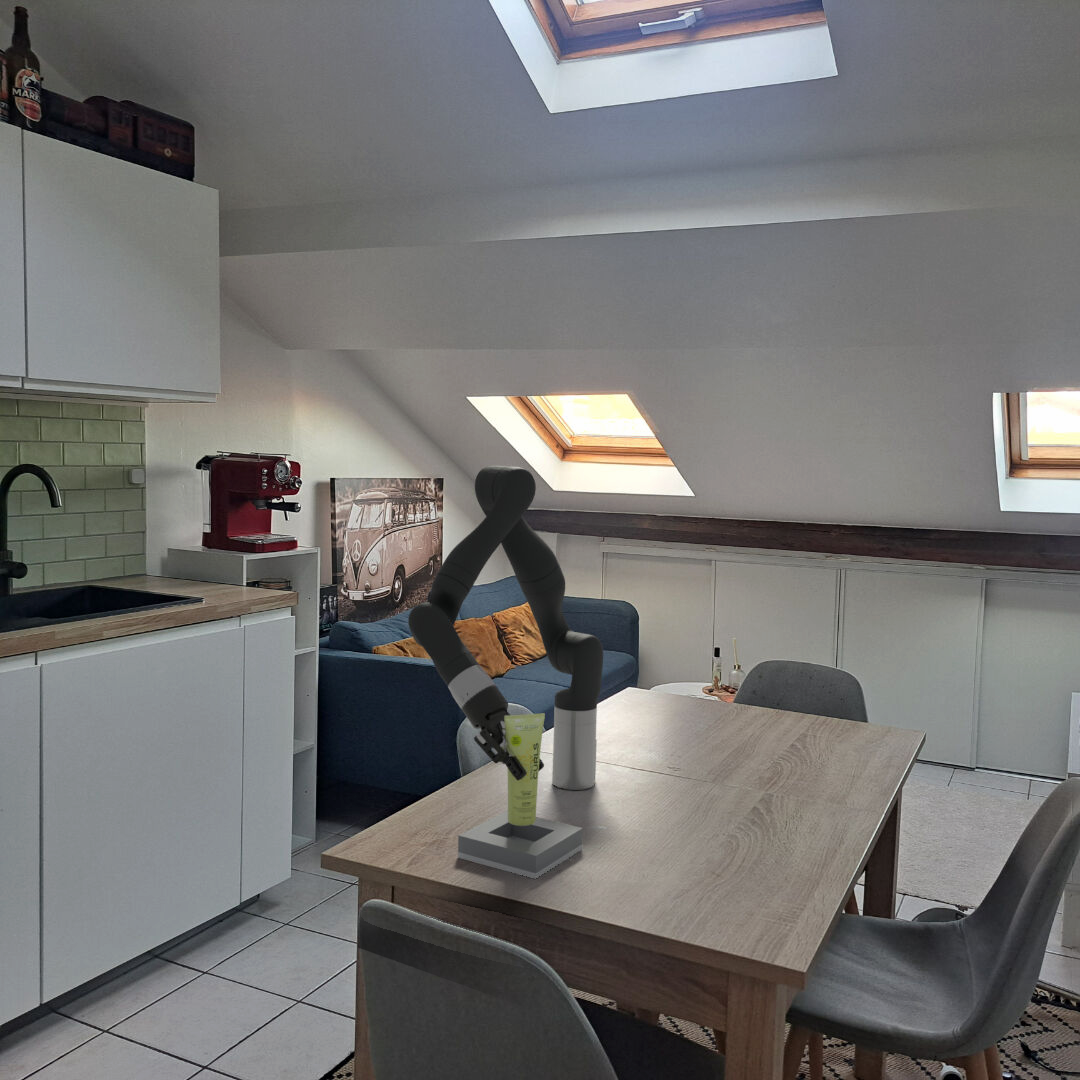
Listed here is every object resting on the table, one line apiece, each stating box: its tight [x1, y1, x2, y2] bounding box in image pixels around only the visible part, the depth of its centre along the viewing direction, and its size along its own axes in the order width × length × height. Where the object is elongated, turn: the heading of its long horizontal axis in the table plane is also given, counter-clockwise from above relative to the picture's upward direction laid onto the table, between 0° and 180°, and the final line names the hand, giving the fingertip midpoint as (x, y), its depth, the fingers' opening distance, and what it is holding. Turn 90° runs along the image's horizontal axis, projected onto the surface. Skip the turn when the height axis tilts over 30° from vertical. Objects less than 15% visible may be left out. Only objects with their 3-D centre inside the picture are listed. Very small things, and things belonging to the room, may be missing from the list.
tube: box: [504, 712, 546, 826], centre depth 177 cm, size 6×5×20 cm
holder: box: [457, 810, 584, 880], centre depth 178 cm, size 16×16×4 cm
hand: (531, 773), depth 176 cm, fingers closed on tube, 5 cm apart
